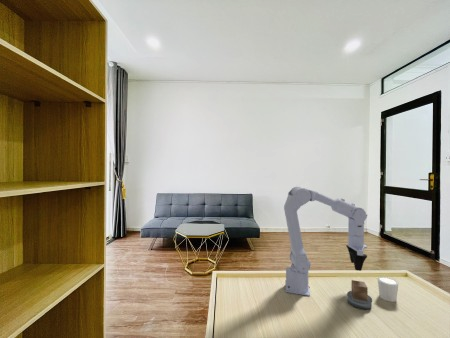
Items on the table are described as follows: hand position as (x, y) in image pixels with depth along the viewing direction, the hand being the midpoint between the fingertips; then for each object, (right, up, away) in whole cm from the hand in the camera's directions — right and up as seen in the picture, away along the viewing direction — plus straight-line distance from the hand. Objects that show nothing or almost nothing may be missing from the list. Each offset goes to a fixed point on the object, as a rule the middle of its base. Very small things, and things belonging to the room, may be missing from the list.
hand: (355, 266), depth 96 cm
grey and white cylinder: (+10, -11, -5) cm, 15 cm away
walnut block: (-4, -8, -9) cm, 13 cm away
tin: (-4, -11, -9) cm, 15 cm away
